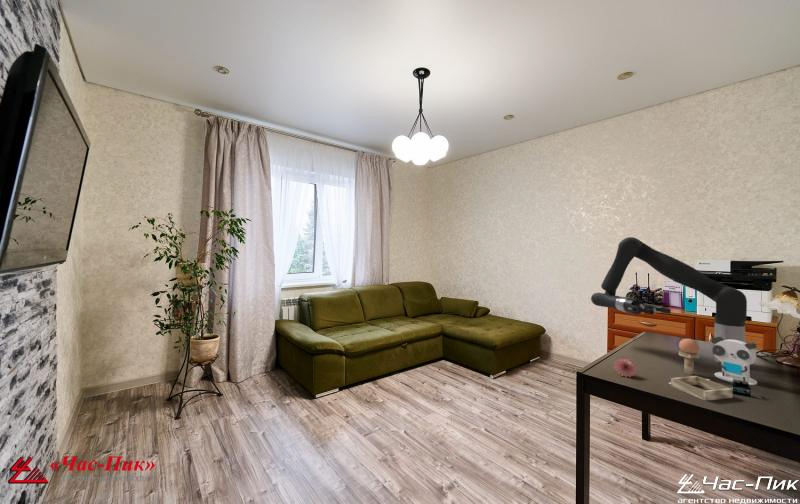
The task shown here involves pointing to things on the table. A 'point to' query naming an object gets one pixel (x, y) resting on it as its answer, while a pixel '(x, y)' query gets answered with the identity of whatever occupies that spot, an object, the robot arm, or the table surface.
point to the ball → (689, 346)
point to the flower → (625, 367)
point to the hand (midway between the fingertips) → (661, 311)
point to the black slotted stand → (743, 392)
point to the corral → (712, 394)
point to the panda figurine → (734, 359)
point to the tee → (689, 362)
